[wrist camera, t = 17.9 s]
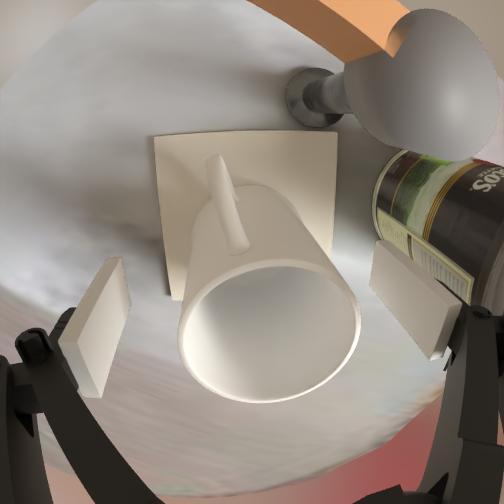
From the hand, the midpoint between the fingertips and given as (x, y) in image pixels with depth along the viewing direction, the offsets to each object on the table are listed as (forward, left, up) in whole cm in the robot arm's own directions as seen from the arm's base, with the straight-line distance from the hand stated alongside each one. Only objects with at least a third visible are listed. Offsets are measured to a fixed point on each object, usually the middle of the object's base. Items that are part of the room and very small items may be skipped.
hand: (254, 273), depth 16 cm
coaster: (0, 0, -9) cm, 9 cm away
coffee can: (+15, +1, -9) cm, 18 cm away
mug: (0, 0, -9) cm, 9 cm away
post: (+5, +9, -9) cm, 14 cm away
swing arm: (+1, +12, +3) cm, 13 cm away
